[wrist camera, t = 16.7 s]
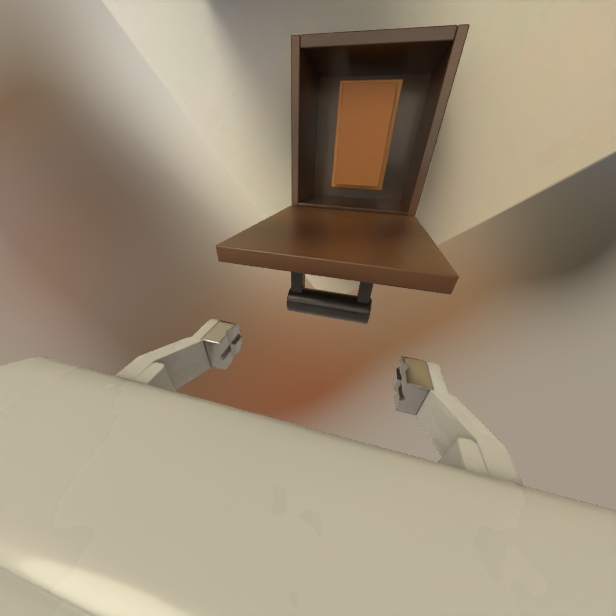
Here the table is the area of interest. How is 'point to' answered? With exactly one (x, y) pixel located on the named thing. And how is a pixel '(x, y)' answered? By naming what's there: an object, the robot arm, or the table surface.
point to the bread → (364, 132)
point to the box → (409, 120)
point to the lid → (342, 256)
